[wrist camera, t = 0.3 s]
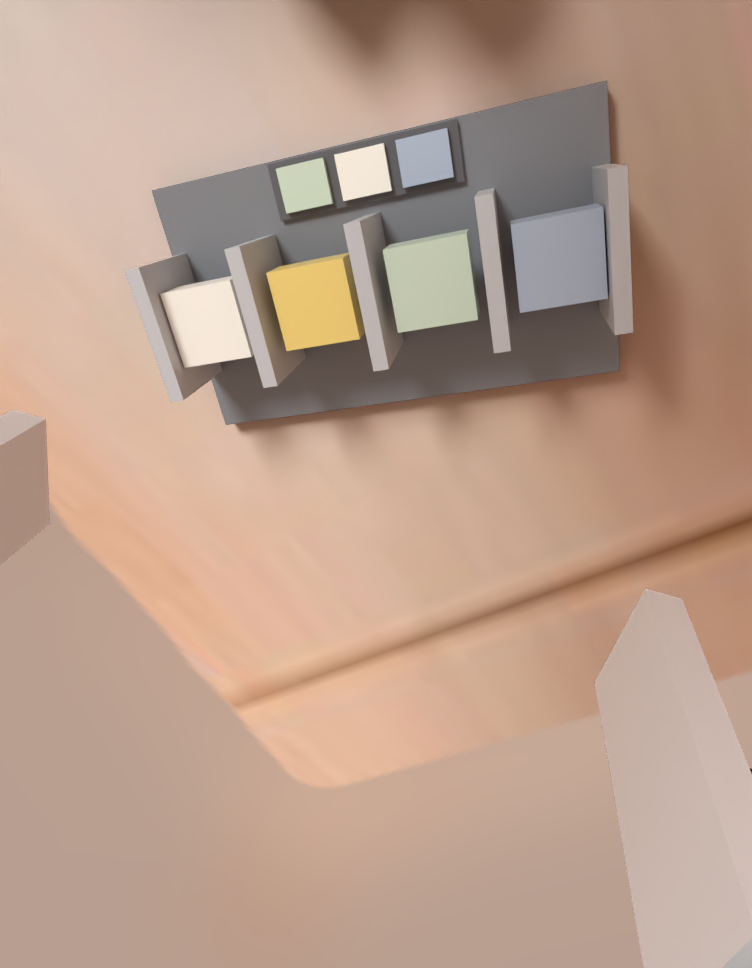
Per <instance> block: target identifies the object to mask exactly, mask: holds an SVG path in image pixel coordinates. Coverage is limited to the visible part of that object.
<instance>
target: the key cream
mask: <svg viewBox="0 0 752 968" xmlns="http://www.w3.org/2000/svg"><path fill="white" fill-rule="evenodd" d="M160 296H161V299H162V302H163V305H164V308H165V311H166V314H167V317H168V320H169V323H170V326H171V329H172V332H173V335H174V338H175V341H176V344H177V347H178V350H179V353H180V356H181V359H182V362H183V365H184V368H187V367H193V366H199V365H205V364H211V363H217V362H223V361H230V360H236V359H242V358H248V357H252V356H253V355H254V353H253V350H252V346H251V342H250V339H249V335H248V332H247V328H246V325H245V321H244V318H243V314H242V311H241V307H240V304H239V300H238V297H237V293H236V290H235V286H234V283H233V279H232V276H229V277H224V278H219V279H214V280H209V281H203V282H198V283H193V284H188V285H183V286H178V287H176V288H173V289H171V290H168V291H166V292H163V293H161V294H160Z"/></svg>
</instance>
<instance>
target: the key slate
mask: <svg viewBox="0 0 752 968" xmlns="http://www.w3.org/2000/svg"><path fill="white" fill-rule="evenodd" d="M510 224H511V233H512V243H513V252H514V262H515V271H516V280H517V290H518V299H519V309H520V313H523V312H529V311H535V310H541V309H547V308H553V307H560V306H566V305H572V304H578V303H584V302H590V301H596V300H602V299H608V291H607V271H606V251H605V230H604V210H603V206H601V205H599V204H597V203H596V204H591V205H586V206H581V207H576V208H571V209H566V210H561V211H556V212H551V213H546V214H541V215H536V216H531V217H526V218H521V219H516V220H511V221H510Z"/></svg>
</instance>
